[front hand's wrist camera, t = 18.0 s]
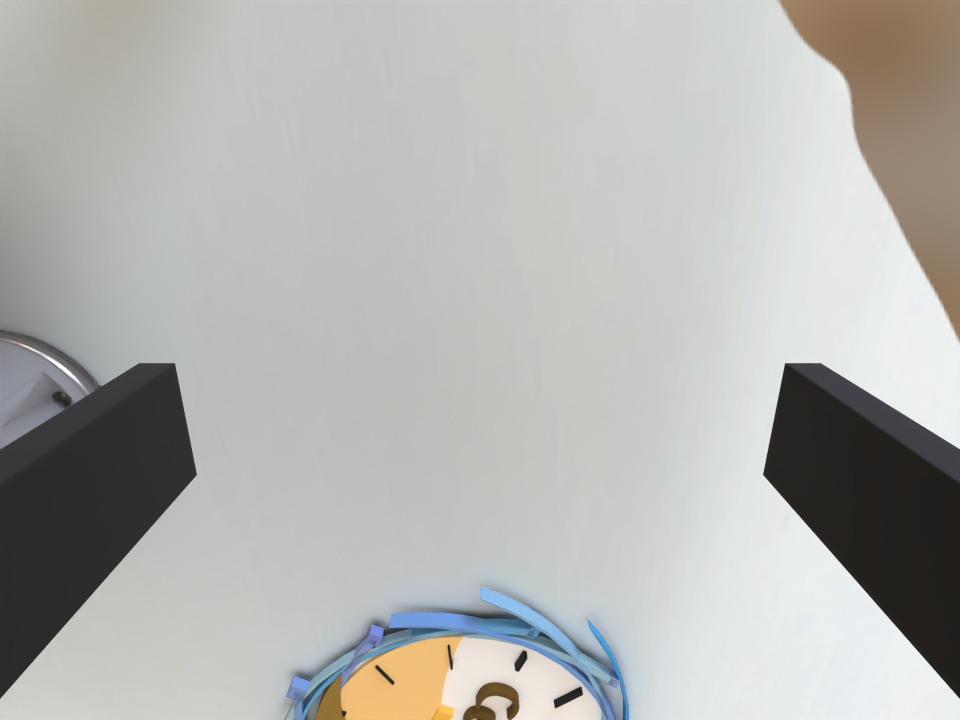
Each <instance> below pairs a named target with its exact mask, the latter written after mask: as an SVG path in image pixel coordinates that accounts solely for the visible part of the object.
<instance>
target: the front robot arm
mask: <svg viewBox="0 0 960 720" xmlns="http://www.w3.org/2000/svg"><path fill="white" fill-rule="evenodd" d="M196 475H197V473H196V468H195V463H194V458H193V453H192V448H191V443H190V438H189V433H188V428H187V423H186V417H185V412H184V407H183V402H182V397H181V392H180V387H179V382H178V377H177V372H176V367H175V363H139V364H137V365H136V366H134V367H133V368H131V369H129V370H128V371H126V372H124V373H123V374H121V375H120V376H118V377H116V378H115V379H113V380H111V381H110V382H108V383H107V384H105V385H103V386H102V387H100V388H99V386H98V385H97V384H96V383H95V381H94V380H93V379H92V378H91V377H90V376H89V375H88V374H87V373H86V372H85V371H84V370H83V369H82V368H81V367H80V366H79V365H78V364H77V363H75V362H74V361H73V360H72V359H70V358H69V357H67V356H66V355H64V354H63V353H62V352H60V351H58V350H56V349H55V348H53V347H51V346H49V345H47V344H45V343H43V342H41V341H38V340H36V339H33V338H30V337H27V336H24V335H21V334H16V333H11V332H5V331H0V698H1V697H2V696H3V695H4V694H5V693H6V691H7V690H8V689H9V688H10V687H11V686H12V685H13V684H14V682H15V681H16V680H17V679H18V678H19V677H20V676H21V674H22V673H23V672H24V671H25V670H26V669H27V668H28V666H29V665H30V664H31V663H32V662H33V661H34V660H35V658H36V657H37V656H38V655H39V654H40V653H41V652H42V651H43V649H44V648H45V647H46V646H47V645H48V644H49V643H50V641H51V640H52V639H53V638H54V637H55V636H56V635H57V633H58V632H59V631H60V630H61V629H62V628H63V627H64V625H65V624H66V623H67V622H68V621H69V620H70V619H71V617H72V616H73V615H74V614H75V613H76V612H77V611H78V610H79V608H80V607H81V606H82V605H83V604H84V603H85V602H86V600H87V599H88V598H89V597H90V596H91V595H92V594H93V592H94V591H95V590H96V589H97V588H98V587H99V586H100V584H101V583H102V582H103V581H104V580H105V579H106V578H107V577H108V575H109V574H110V573H111V572H112V571H113V570H114V569H115V567H116V566H117V565H118V564H119V563H120V562H121V561H122V559H123V558H124V557H125V556H126V555H127V554H128V553H129V551H130V550H131V549H132V548H133V547H134V546H135V545H136V544H137V542H138V541H139V540H140V539H141V538H142V537H143V536H144V534H145V533H146V532H147V531H148V530H149V529H150V528H151V526H152V525H153V524H154V523H155V522H156V521H157V520H158V518H159V517H160V516H161V515H162V514H163V513H164V512H165V510H166V509H167V508H168V507H169V506H170V505H171V504H172V503H173V501H174V500H175V499H176V498H177V497H178V496H179V495H180V493H181V492H182V491H183V490H184V489H185V488H186V487H187V485H188V484H189V483H190V482H191V481H192V480H193V479H194V477H195V476H196ZM763 475H764V476H765V477H766V479H767V480H768V481H769V482H770V483H771V484H772V485H773V487H774V488H775V489H776V490H777V491H778V492H779V493H780V495H781V496H782V497H783V498H784V499H785V500H786V501H787V503H788V504H789V505H790V506H791V507H792V508H793V509H794V510H795V512H796V513H797V514H798V515H799V516H800V517H801V518H802V520H803V521H804V522H805V523H806V524H807V525H808V526H809V528H810V529H811V530H812V531H813V532H814V533H815V534H816V536H817V537H818V538H819V539H820V540H821V541H822V542H823V544H824V545H825V546H826V547H827V548H828V549H829V550H830V551H831V553H832V554H833V555H834V556H835V557H836V558H837V559H838V561H839V562H840V563H841V564H842V565H843V566H844V567H845V569H846V570H847V571H848V572H849V573H850V574H851V575H852V577H853V578H854V579H855V580H856V581H857V582H858V583H859V584H860V586H861V587H862V588H863V589H864V590H865V591H866V592H867V594H868V595H869V596H870V597H871V598H872V599H873V600H874V602H875V603H876V604H877V605H878V606H879V607H880V608H881V610H882V611H883V612H884V613H885V614H886V615H887V616H888V617H889V619H890V620H891V621H892V622H893V623H894V624H895V625H896V627H897V628H898V629H899V630H900V631H901V632H902V633H903V635H904V636H905V637H906V638H907V639H908V640H909V641H910V643H911V644H912V645H913V646H914V647H915V648H916V649H917V651H918V652H919V653H920V654H921V655H922V656H923V657H924V658H925V660H926V661H927V662H928V663H929V664H930V665H931V666H932V668H933V669H934V670H935V671H936V672H937V673H938V674H939V676H940V677H941V678H942V679H943V680H944V681H945V682H946V684H947V685H948V686H949V687H950V688H951V689H952V690H953V691H954V693H955V694H956V695H957V696H958V697H959V698H960V449H958V448H957V447H955V446H954V445H952V444H950V443H949V442H947V441H945V440H944V439H942V438H941V437H939V436H937V435H936V434H934V433H933V432H931V431H929V430H928V429H926V428H924V427H923V426H921V425H920V424H918V423H916V422H915V421H913V420H912V419H910V418H908V417H907V416H905V415H903V414H902V413H900V412H899V411H897V410H895V409H894V408H892V407H891V406H889V405H887V404H886V403H884V402H882V401H881V400H879V399H878V398H876V397H874V396H873V395H871V394H870V393H868V392H866V391H865V390H863V389H861V388H860V387H858V386H857V385H855V384H853V383H852V382H850V381H849V380H847V379H845V378H844V377H842V376H840V375H839V374H837V373H836V372H834V371H832V370H831V369H829V368H827V367H826V366H824V365H823V364H821V363H785V367H784V372H783V377H782V382H781V387H780V392H779V397H778V402H777V407H776V412H775V417H774V423H773V428H772V433H771V438H770V443H769V448H768V453H767V458H766V463H765V468H764V473H763Z"/></svg>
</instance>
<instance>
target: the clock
mask: <svg viewBox="0 0 960 720" xmlns="http://www.w3.org/2000/svg"><path fill="white" fill-rule="evenodd" d="M480 599H481V600H483V601H485V602H487V603H490V604H492V605H494V606H496V607H498V608H500V609H502V610H505V611H507V612H509V613H511V614H513V615H515V616H517V617H519V618H521V619H522V620H516V619H483V618H479V617H473V616H468V615H461V614H452V613H438V612H412V613H399V614H392V615H391V620H390V626H389V628H410V629H406V630H403V631H399V632H396V633H392V634H388V635H386V636H383V632H384V628H381V627H378V626H375V625H371V627H370V629H369V631H368V633H367V636H366V638H365V639H364V640H363V641H362V642H361V643H360V644H359V645H358V647H357V648H356V649H354V650H353V651H351V652H349V653H347V654H345V655H343V656H342V657H341V658H339V659H338V660H336V661H335V662H333V663H332V664H331V665H329V666H328V667H326V668H325V669H323V670H322V671H321V672H320V673H319V674H318V675H316V676H315V677H314V678H313V679H312V680H311V681H308V680H305V679H302V678H298V677H295V676H294V679H293V681H292V683H291V685H290V687H289V690H288V693H287V695H286V697H289V698H292V699H294V702H293V703H292V705H291V707H290V709H289V710H288V712H287V714H286V716H285V719H284V720H288V718H289V717H290V716H291V714H292V713H293V711H294V717H295V720H307V718H306V714H307V712H308V710H309V708H310V706H311V705H312V704H313V702H314V701H315V700H316V699H317V697H318V696H319V695H320V694H321V692H322V691H323V690H324V689H325V690H324V693H323V695H322V698H321V701H320V704H319V708H318V711H317V715H316V720H616V719H615V715H614V713H613V710H612V708H611V705H610V702H609V700H608V698H607V696H606V695H605V693H604V691H603V690H602V688H601V686H600V684H599V682H598V679H597V677H598V678H599V679H601V680H603V681H605V682H606V683H607V685H610V686H612V687H615V688H616V687H617V686H618V685H619V683H620V685H621V689H622V694H623V720H629V707H628V701H627V696H626V691H625V686H624V683H623V679H622V675H621V672H620V669H619V666H618V664H617V661H616V659H615V657H614V655H613V653H612V651H611V649H610V648H609V646H608V644H607V643H606V641H605V640H604V638H603V637H602V636H601V634H600V633H599V632H598V630H597V629H596V628H595V627H594V626H593V625H592V623H591V622H590V621H589V620H588V623H589V627H590V629H591V631H592V632H593V634H594V635H595V637H596V638H597V640H598V641H599V643H600V644H601V646H602V647H603V649H604V650H605V652H606V653H607V655H608V656H609V658H610V660H611V663H612V665H613V667H614V669H615V670H613V669H610V668H607V667H605V666H604V665H602V664H601V663H599V662H597V661H596V660H594V659H592V658H591V657H589V656H587V655H585V654H583V653H581V652H580V651H579V649H578V648H577V647H576V646H575V645H574V644H573V642H572V641H571V640H570V639H569V638H568V637H567V636H565V635H564V634H563V633H562V632H561V631H560V630H559V629H558V628H557V627H556V626H554V625H553V624H552V623H551V622H550V621H548V620H547V619H546V618H544V617H543V616H541V615H540V614H538V613H537V612H535V611H534V610H532V609H531V608H529V607H527V606H525V605H524V604H522V603H520V602H518V601H516V600H514V599H512V598H510V597H507V596H505V595H503V594H500V593H498V592H495V591H493V590H490V589H487V588H484V587H481V586H480ZM540 631H541V632H543V633H545V634H546V635H548V636H549V637H550V638H551V639H553V640H554V641H553V640H550V639H548V638H545V637H542V636H540V635H538V634H539V633H540ZM315 687H316V688H315ZM314 688H315V689H314ZM313 689H314V691H313V693H312V694H311V696H310V697H309V699H308V700H307V703H306V705H305V697H306V696H307V695H308V694H309V693H310V692H311V691H312V690H313Z"/></svg>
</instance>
